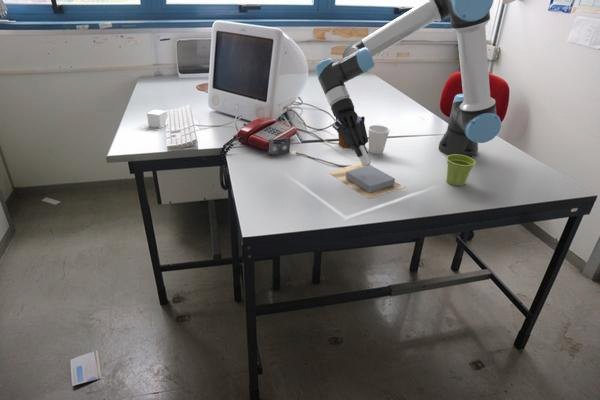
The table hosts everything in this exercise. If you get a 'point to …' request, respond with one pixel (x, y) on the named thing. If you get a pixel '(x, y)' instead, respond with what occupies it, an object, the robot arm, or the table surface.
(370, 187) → the tile
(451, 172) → the plant pot
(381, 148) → the dixie cup
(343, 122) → the robot arm
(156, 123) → the adhesive note
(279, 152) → the mini dv tape
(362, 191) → the board
